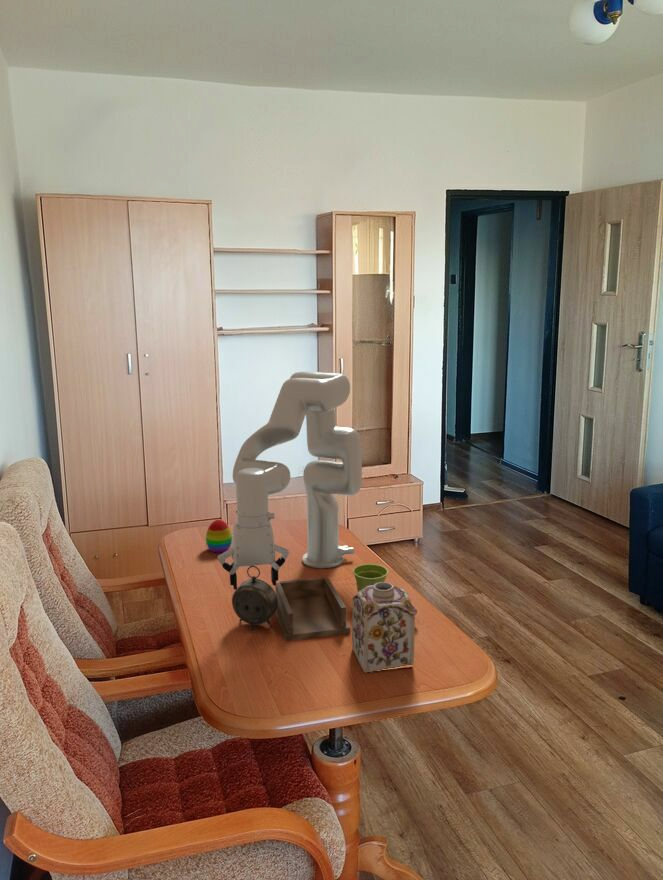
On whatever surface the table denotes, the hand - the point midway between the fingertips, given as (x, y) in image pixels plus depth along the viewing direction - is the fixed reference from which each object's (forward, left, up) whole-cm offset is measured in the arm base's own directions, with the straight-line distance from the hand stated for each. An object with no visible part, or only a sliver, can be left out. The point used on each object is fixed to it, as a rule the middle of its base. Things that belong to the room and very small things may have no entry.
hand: (254, 585), depth 177 cm
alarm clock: (0, 0, -11) cm, 11 cm away
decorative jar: (-26, +22, -11) cm, 36 cm away
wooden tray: (-14, -1, -11) cm, 18 cm away
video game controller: (-35, +7, -12) cm, 37 cm away
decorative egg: (+4, -54, -11) cm, 55 cm away
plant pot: (-32, -7, -11) cm, 35 cm away
